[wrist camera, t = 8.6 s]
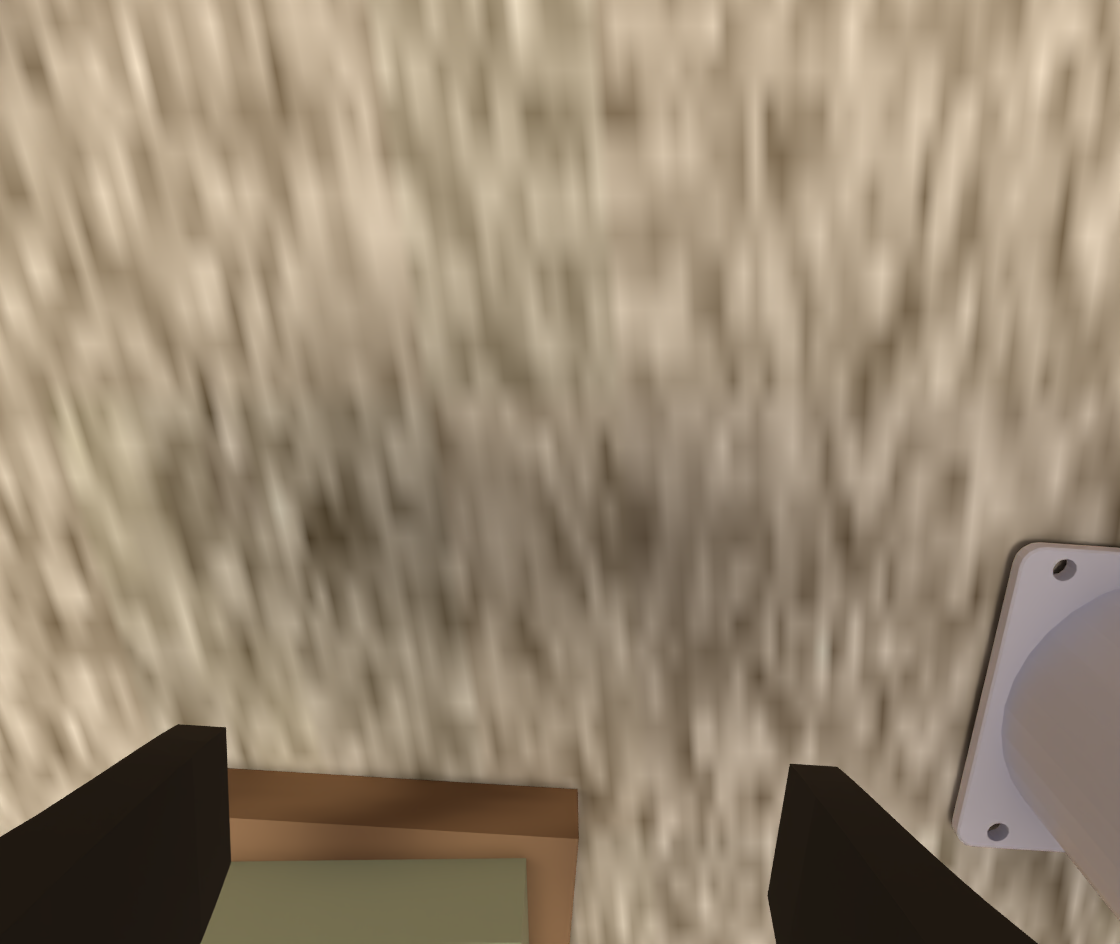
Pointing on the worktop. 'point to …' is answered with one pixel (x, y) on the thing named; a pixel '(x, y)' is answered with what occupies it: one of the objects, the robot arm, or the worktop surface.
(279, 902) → the sage top block
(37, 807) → the worktop surface
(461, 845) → the walnut base block
